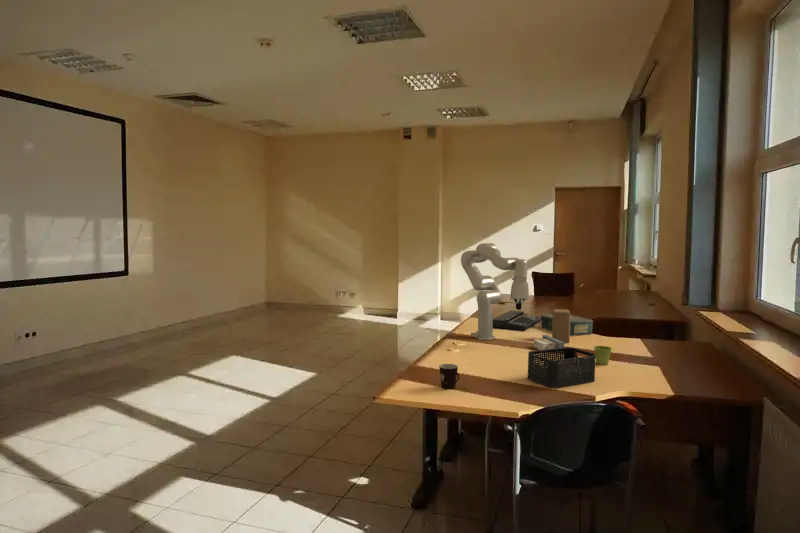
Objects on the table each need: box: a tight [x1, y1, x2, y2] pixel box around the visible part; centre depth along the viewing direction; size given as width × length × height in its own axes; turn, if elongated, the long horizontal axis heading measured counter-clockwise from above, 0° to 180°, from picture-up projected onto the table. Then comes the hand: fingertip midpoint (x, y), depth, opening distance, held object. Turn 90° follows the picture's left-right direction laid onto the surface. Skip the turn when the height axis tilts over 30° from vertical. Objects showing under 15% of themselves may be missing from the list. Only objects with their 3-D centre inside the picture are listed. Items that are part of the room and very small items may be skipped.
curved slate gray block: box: [541, 334, 565, 352], centre depth 326 cm, size 3×22×6 cm, turn 11°
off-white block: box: [533, 338, 556, 352], centre depth 325 cm, size 8×12×5 cm, turn 11°
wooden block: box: [551, 308, 571, 344], centre depth 345 cm, size 10×10×20 cm
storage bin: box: [527, 346, 596, 388], centre depth 262 cm, size 29×19×13 cm
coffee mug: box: [438, 363, 460, 390], centre depth 249 cm, size 12×9×10 cm
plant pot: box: [593, 345, 613, 366], centre depth 292 cm, size 9×9×9 cm
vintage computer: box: [493, 310, 542, 332], centre depth 401 cm, size 43×29×8 cm
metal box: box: [540, 313, 594, 337], centre depth 378 cm, size 21×32×10 cm, turn 19°
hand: (518, 309), depth 330 cm, fingers closed
